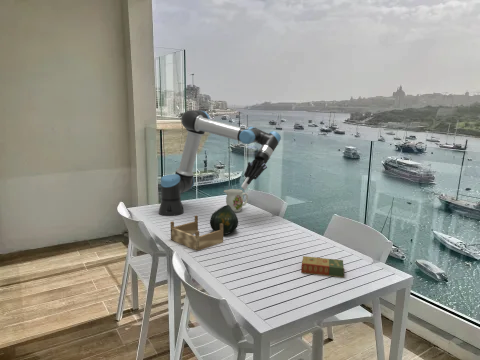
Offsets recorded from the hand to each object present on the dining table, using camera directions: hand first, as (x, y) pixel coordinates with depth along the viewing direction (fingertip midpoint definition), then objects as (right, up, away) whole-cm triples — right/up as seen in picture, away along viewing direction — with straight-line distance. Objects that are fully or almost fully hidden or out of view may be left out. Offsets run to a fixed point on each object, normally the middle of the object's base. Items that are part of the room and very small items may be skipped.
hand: (243, 188), depth 188 cm
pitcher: (-4, -16, +35) cm, 39 cm away
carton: (+31, -32, -50) cm, 67 cm away
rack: (-23, -25, -19) cm, 39 cm away
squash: (-10, -23, -6) cm, 26 cm away
